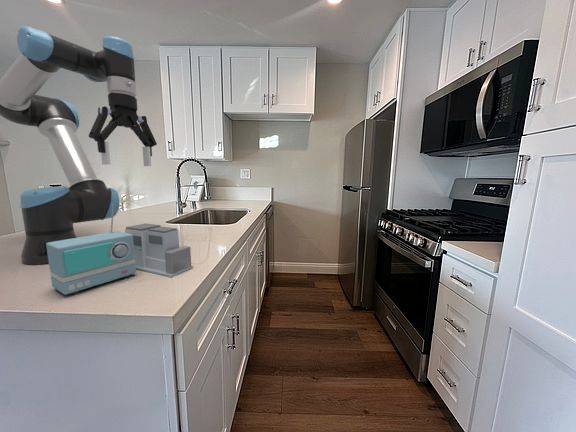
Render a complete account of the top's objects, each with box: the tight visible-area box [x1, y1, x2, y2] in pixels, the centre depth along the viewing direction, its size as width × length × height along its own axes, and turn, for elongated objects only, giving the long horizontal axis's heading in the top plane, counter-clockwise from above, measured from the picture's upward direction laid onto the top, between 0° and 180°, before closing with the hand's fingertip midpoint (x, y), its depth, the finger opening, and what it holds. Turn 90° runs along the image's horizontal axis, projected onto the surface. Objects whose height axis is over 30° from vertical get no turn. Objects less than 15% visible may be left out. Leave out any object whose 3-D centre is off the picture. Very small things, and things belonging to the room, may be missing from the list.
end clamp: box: [165, 245, 192, 274], centre depth 73 cm, size 2×7×6 cm, turn 157°
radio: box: [46, 204, 137, 296], centre depth 64 cm, size 16×9×20 cm, turn 148°
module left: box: [124, 223, 162, 267], centre depth 78 cm, size 7×8×12 cm
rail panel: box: [136, 256, 194, 278], centre depth 76 cm, size 20×8×4 cm, turn 67°
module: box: [147, 225, 180, 260], centre depth 75 cm, size 7×5×8 cm
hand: (128, 165), depth 81 cm, fingers open, 13 cm apart
